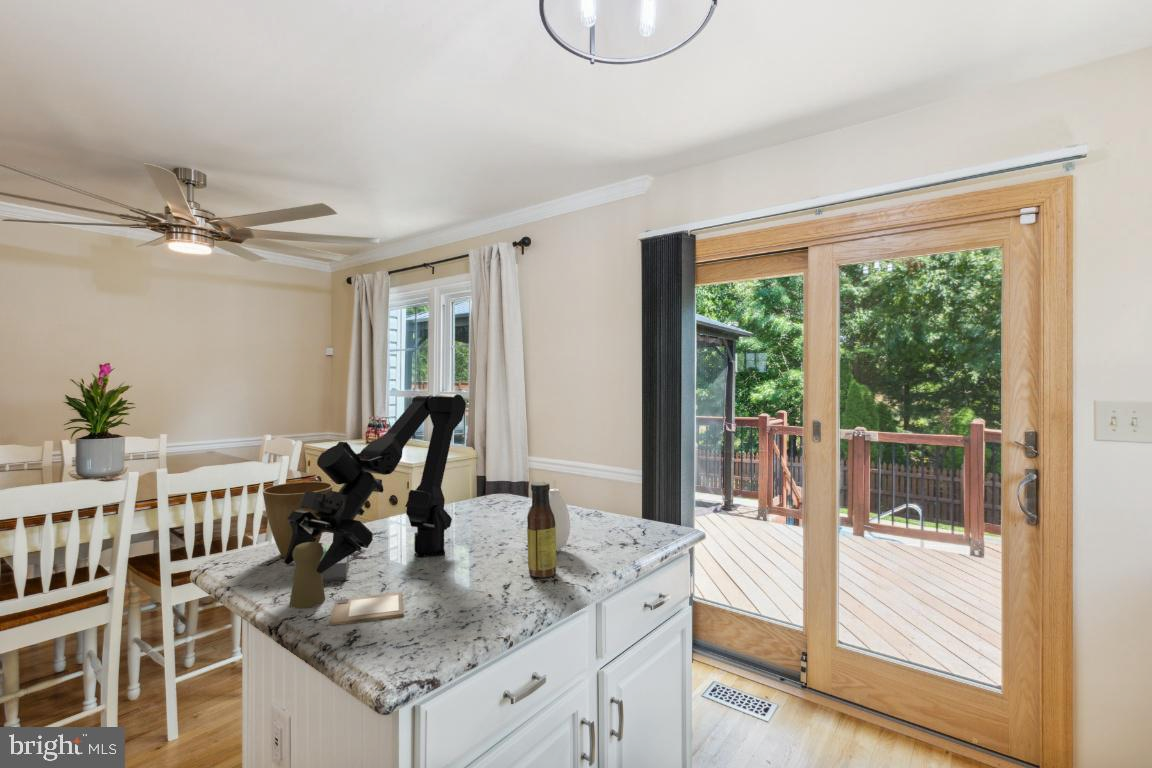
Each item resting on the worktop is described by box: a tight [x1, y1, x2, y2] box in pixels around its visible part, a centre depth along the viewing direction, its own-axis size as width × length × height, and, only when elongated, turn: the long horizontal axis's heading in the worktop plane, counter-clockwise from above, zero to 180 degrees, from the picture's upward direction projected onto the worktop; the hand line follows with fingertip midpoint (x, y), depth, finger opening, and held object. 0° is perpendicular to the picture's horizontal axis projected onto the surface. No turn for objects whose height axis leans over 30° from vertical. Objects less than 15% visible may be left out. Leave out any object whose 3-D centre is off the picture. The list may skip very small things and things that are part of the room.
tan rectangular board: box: [329, 591, 405, 626], centre depth 98 cm, size 12×10×1 cm
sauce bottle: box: [526, 481, 557, 579], centre depth 117 cm, size 7×6×20 cm
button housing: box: [322, 555, 350, 582], centre depth 115 cm, size 8×8×4 cm
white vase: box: [549, 478, 571, 552], centre depth 133 cm, size 8×8×18 cm
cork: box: [289, 542, 326, 609], centre depth 101 cm, size 6×6×11 cm
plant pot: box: [262, 481, 333, 558], centre depth 128 cm, size 15×15×16 cm
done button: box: [320, 545, 331, 562], centre depth 115 cm, size 4×4×3 cm
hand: (301, 567), depth 100 cm, fingers open, 9 cm apart
